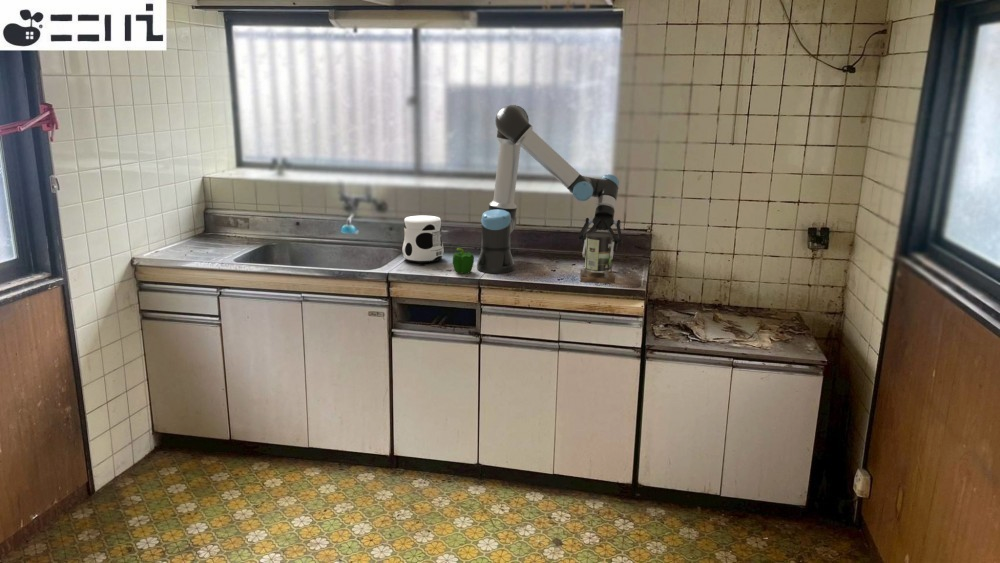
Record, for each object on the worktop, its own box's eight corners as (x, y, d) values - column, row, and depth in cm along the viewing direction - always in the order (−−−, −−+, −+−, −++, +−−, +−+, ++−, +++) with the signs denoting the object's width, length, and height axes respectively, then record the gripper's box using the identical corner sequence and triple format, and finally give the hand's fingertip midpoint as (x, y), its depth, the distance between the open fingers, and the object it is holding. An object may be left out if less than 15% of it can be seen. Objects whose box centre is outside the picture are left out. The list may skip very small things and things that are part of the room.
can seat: (580, 281, 273) (580, 269, 272) (580, 273, 286) (580, 261, 284) (614, 283, 272) (615, 271, 271) (613, 274, 284) (613, 263, 283)
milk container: (403, 255, 309) (402, 215, 305) (443, 255, 311) (442, 214, 306) (401, 265, 293) (401, 222, 288) (444, 265, 295) (443, 222, 290)
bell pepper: (476, 270, 286) (476, 246, 284) (470, 276, 279) (470, 251, 276) (456, 269, 288) (456, 245, 286) (450, 274, 281) (450, 249, 278)
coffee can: (611, 267, 282) (613, 232, 278) (610, 273, 272) (612, 237, 268) (585, 265, 284) (587, 231, 280) (583, 272, 274) (584, 236, 270)
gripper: (634, 216, 284) (627, 264, 274) (578, 213, 290) (569, 259, 280) (633, 205, 278) (626, 253, 267) (576, 202, 284) (567, 249, 273)
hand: (597, 256), depth 273 cm, fingers closed on coffee can, 10 cm apart
